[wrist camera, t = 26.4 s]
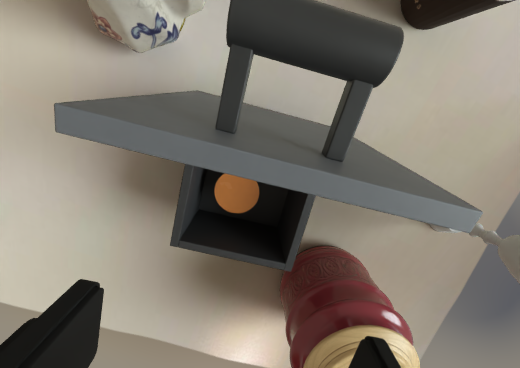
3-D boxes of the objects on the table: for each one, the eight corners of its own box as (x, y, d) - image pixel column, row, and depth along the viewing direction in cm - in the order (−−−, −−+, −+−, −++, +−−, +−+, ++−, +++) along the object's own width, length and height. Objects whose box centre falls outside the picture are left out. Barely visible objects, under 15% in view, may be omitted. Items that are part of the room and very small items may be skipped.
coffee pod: (242, 154, 32) (240, 161, 27) (266, 184, 33) (268, 195, 28) (212, 178, 32) (205, 188, 28) (236, 207, 33) (233, 221, 29)
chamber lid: (469, 234, 8) (590, 54, 6) (54, 132, 7) (41, -125, 5) (336, 137, 22) (359, 75, 20) (195, 100, 21) (206, 31, 19)
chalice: (434, 186, 34) (622, 255, 17) (479, 196, 35) (706, 273, 17) (414, 234, 36) (566, 341, 18) (457, 243, 36) (644, 356, 19)
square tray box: (281, 231, 35) (291, 272, 26) (193, 211, 34) (169, 245, 25) (311, 129, 32) (336, 133, 22) (215, 103, 31) (197, 95, 21)
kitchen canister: (282, 322, 39) (304, 479, 22) (275, 248, 36) (294, 364, 19) (364, 314, 39) (450, 464, 22) (364, 239, 36) (466, 346, 19)
